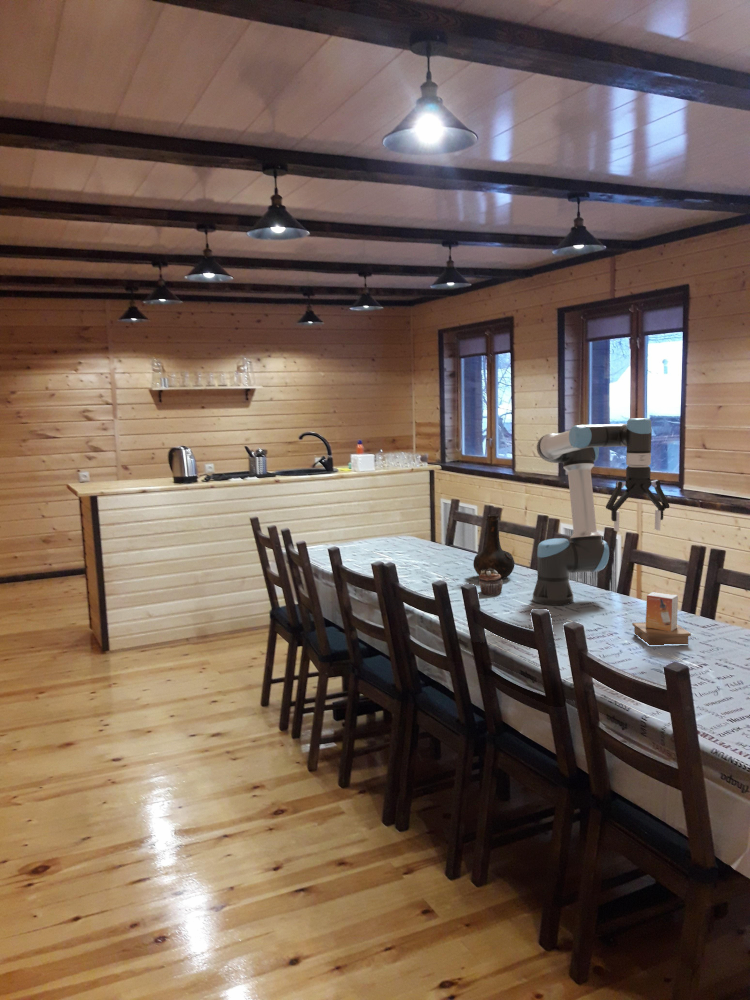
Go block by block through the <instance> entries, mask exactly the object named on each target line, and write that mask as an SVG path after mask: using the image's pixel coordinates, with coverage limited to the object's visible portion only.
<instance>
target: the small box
mask: <svg viewBox="0 0 750 1000" xmlns="http://www.w3.org/2000/svg"><path fill="white" fill-rule="evenodd" d="M678 605H679V596H678V594H668V593H662V592H655V591H652V592H650V593H649V594H647V595H646V605H645V606H646V609H645V622H646V627H647V628H654V629H659V630H664V631H669V632H671V631H673V630H674V629H676V628H677V625H678V609H679V607H678Z"/></svg>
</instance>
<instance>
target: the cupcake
mask: <svg viewBox="0 0 750 1000" xmlns="http://www.w3.org/2000/svg"><path fill="white" fill-rule="evenodd" d="M478 578H479V579H478V583H479V588H480V593H481V594H482V595H484V596H498V594H499V595H501V594H502V589H503V585H504V580H503V579H500V578H501V575H500V574H498V572H497V571H495V569H493V570H492V568H489V569H482V570H481V574H480V575H478Z"/></svg>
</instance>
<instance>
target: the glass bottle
mask: <svg viewBox="0 0 750 1000" xmlns="http://www.w3.org/2000/svg"><path fill="white" fill-rule="evenodd" d="M485 521H487V532H486V533H487V534H486V540H485V541H486V542H485V545H484V549H482V550H481V551H479V552H478V553H477V554H476V555H475V556H474V559H473V565H472V566H473V569H474V570H475V572H476V574H477V575H478V576H479V575H480V574H481V570H482V569H489V568H492V570H493V569H495V571H497V572H498V574H500V575H501V578H500V579H501V580H504V579H506V578H509V576H510V575H512V573H513V571H514V568H515V565H516V564H515V558H514V557H513V555H512V554H511V553H510V552H509V551H506V550H503V548H502V547H501V541H500V532H499V531H500V530H499V521H501V519H500V518H499V514H495V513H494V514H493V513H492V514H487V518H485Z"/></svg>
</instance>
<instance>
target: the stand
mask: <svg viewBox="0 0 750 1000" xmlns="http://www.w3.org/2000/svg"><path fill="white" fill-rule="evenodd" d="M631 625H632V626H633V627H634V630H633V631H634V633H635V634H636V635H638V636H639V637H640V638H641V639H643V640H644V641H645V642H647V643H648V644H649V645H664V644H688V645H689V637H692V633H691V632H689V631H688V630H686V629H685V628H683V627H682V626H680V625H679V624H677V628H676V629H674V630H673V631H671V632H669V631H664V630H659V629H654V628H647V627H646V621H645V622H644V621H642V622H632V624H631Z"/></svg>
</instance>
